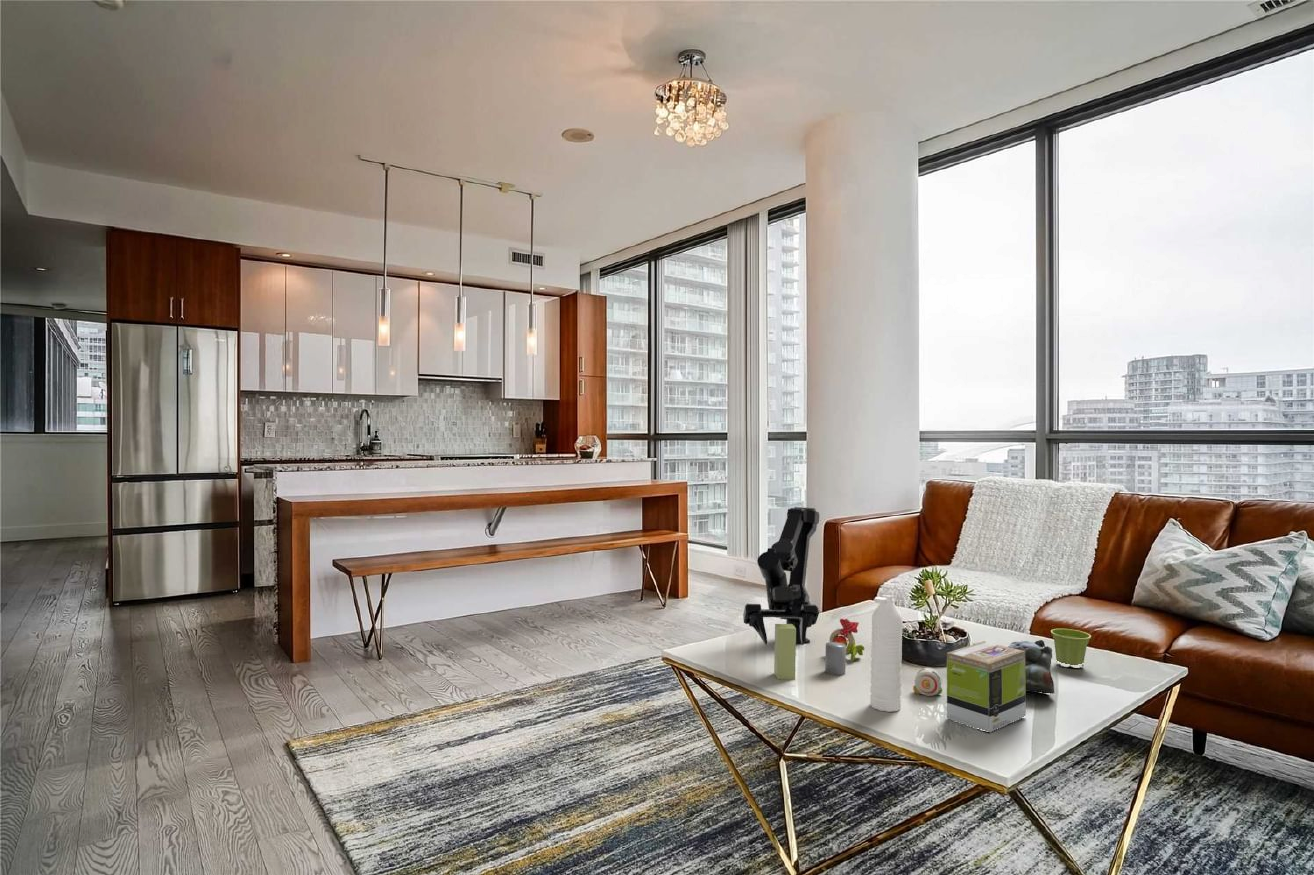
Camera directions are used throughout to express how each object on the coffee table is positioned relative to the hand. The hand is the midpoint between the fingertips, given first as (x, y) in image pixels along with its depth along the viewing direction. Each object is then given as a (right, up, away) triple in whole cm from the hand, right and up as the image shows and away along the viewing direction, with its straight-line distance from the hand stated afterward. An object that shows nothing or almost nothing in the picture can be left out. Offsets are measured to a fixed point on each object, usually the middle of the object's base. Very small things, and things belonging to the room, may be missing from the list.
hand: (784, 643), depth 187 cm
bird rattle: (+19, -8, +16) cm, 26 cm away
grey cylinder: (+13, -8, +4) cm, 16 cm away
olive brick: (0, -8, 0) cm, 8 cm away
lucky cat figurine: (+55, -9, -8) cm, 56 cm away
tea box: (+39, -9, -26) cm, 48 cm away
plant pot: (+78, -9, +12) cm, 80 cm away
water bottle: (+18, -9, -21) cm, 29 cm away
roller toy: (+32, -9, -11) cm, 35 cm away
